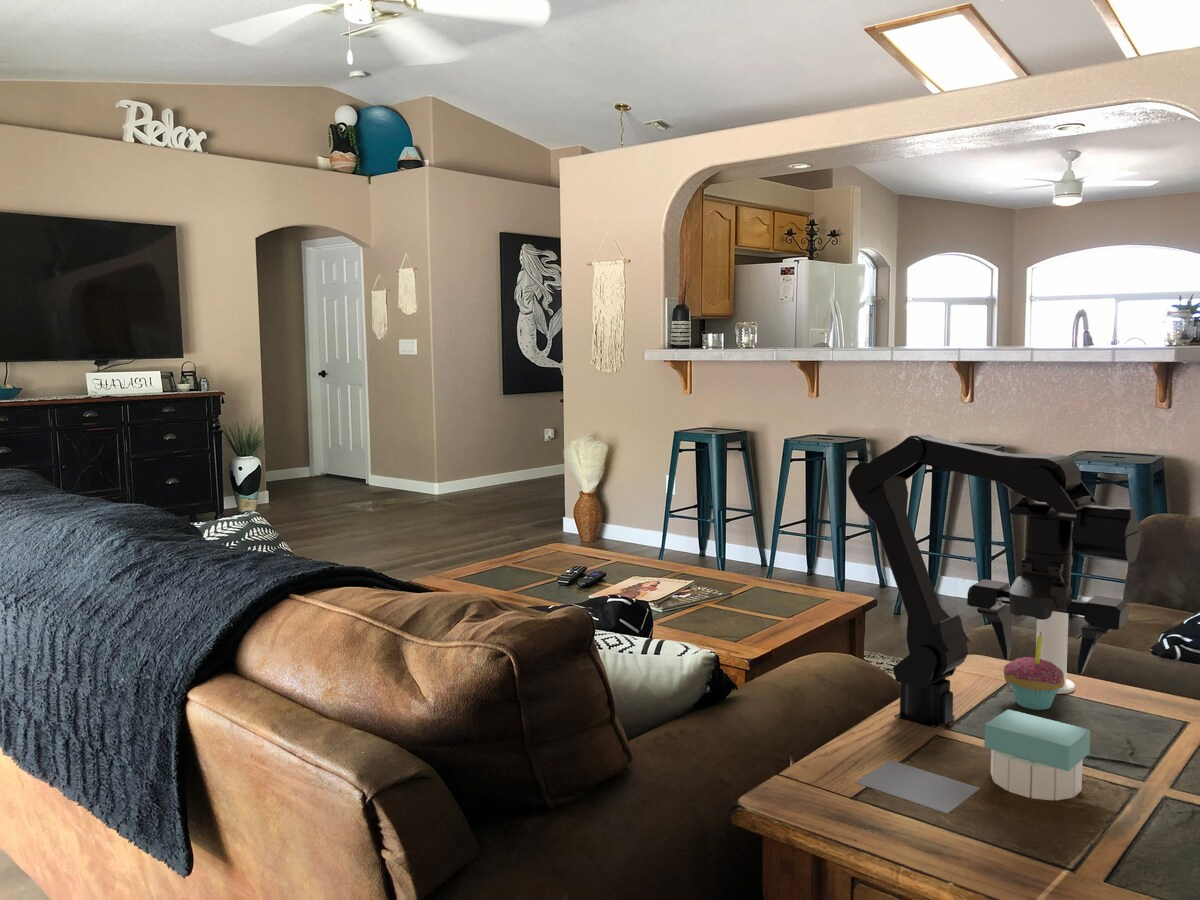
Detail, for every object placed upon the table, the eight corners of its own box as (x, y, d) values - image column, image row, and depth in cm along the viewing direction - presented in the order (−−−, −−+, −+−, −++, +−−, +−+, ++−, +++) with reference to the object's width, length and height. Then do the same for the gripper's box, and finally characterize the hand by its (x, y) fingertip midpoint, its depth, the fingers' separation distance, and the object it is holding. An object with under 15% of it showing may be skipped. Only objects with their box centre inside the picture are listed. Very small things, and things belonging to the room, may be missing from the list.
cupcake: (1073, 714, 142) (1077, 635, 140) (1016, 714, 142) (1018, 635, 141) (1047, 694, 150) (1050, 619, 149) (993, 694, 150) (995, 619, 149)
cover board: (984, 747, 119) (984, 724, 119) (1007, 731, 124) (1008, 709, 124) (1068, 771, 112) (1069, 746, 112) (1089, 753, 117) (1090, 729, 117)
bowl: (977, 786, 119) (978, 751, 118) (1010, 761, 126) (1011, 728, 125) (1062, 812, 112) (1063, 775, 111) (1092, 784, 119) (1093, 749, 118)
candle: (1074, 682, 155) (1079, 530, 153) (1075, 696, 149) (1081, 538, 147) (1026, 676, 158) (1031, 527, 156) (1025, 690, 152) (1030, 535, 150)
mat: (854, 786, 119) (854, 781, 119) (890, 764, 125) (890, 759, 125) (947, 818, 110) (947, 813, 110) (980, 792, 117) (980, 788, 117)
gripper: (954, 551, 126) (950, 667, 127) (1111, 572, 114) (1105, 699, 115) (983, 538, 134) (979, 647, 136) (1132, 556, 122) (1126, 675, 124)
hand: (1042, 666), depth 127 cm, fingers open, 9 cm apart
